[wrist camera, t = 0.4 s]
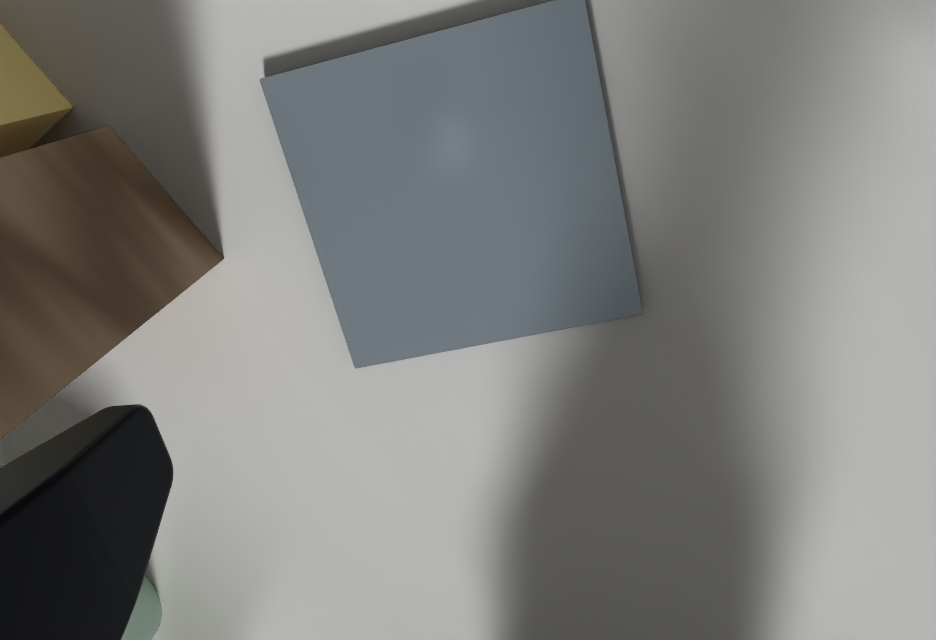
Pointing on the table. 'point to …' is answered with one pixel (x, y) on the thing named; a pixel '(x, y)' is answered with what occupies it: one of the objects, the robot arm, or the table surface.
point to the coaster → (461, 184)
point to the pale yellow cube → (25, 99)
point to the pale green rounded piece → (144, 614)
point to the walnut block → (82, 261)
